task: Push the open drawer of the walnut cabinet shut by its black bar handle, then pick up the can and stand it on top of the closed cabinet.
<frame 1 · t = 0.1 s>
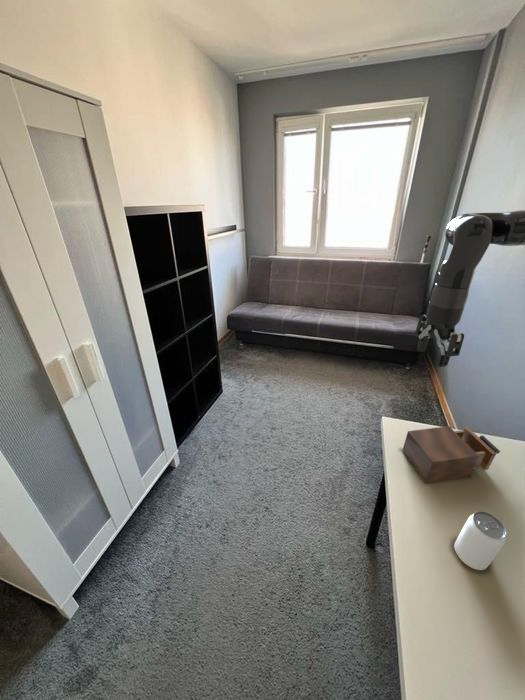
hand: (430, 358, 77), 32 cm above the table, tool pointing down, fingers open, 8 cm apart
drawer: (464, 449, 84), point 4 cm above the table, slide at 5.0 cm
can: (470, 554, 63), on the table
cabinet: (433, 462, 85), on the table
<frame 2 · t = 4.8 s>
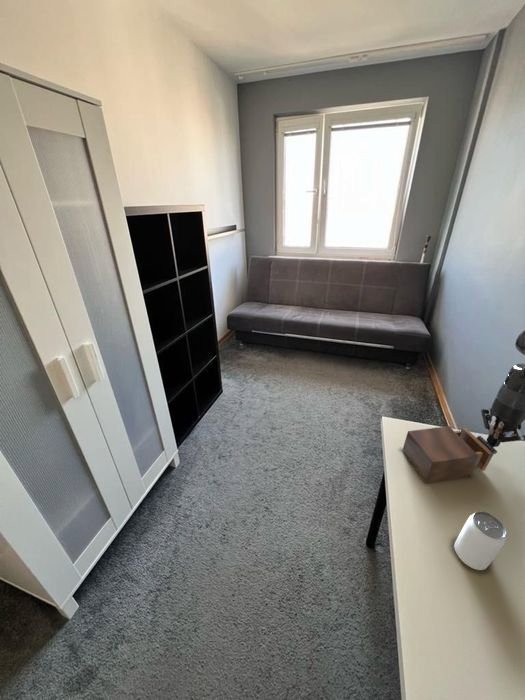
hand: (491, 445, 84), 5 cm above the table, tool pointing down, fingers closed
drawer: (462, 449, 84), point 4 cm above the table, slide at 4.1 cm
everything else where it was.
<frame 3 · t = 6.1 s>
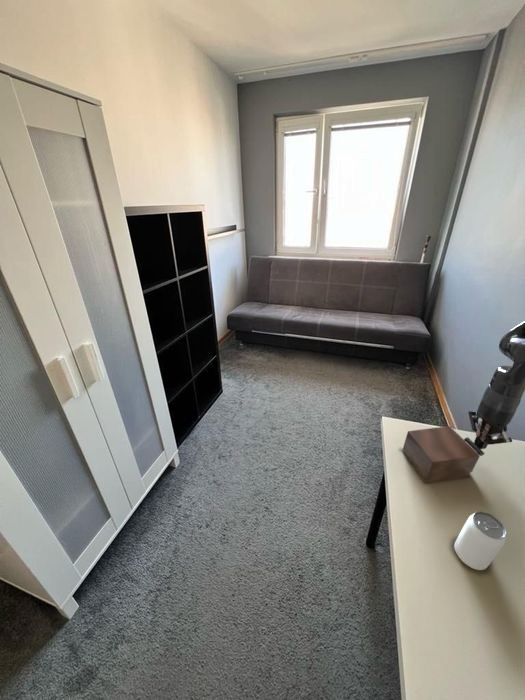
hand: (478, 447, 84), 5 cm above the table, tool pointing down, fingers closed
drawer: (449, 451, 83), point 4 cm above the table, slide at 0.0 cm, touching cabinet, gripper
everything else where it was.
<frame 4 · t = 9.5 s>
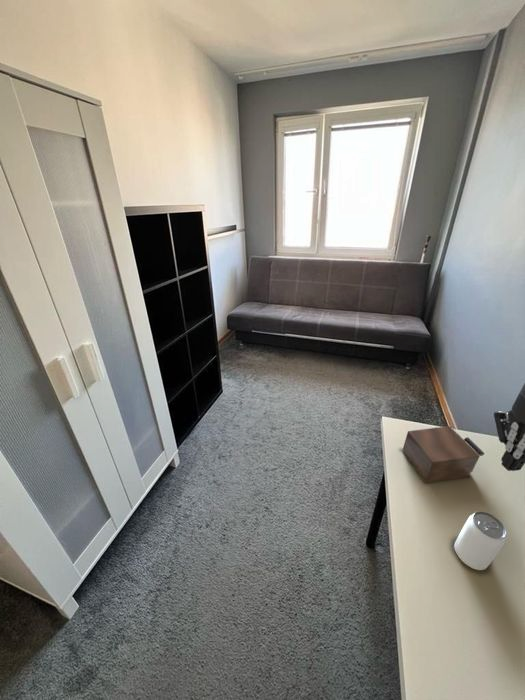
hand: (508, 467, 55), 24 cm above the table, tool pointing down, fingers closed
drawer: (449, 451, 83), point 4 cm above the table, slide at 0.0 cm, touching cabinet
everything else where it was.
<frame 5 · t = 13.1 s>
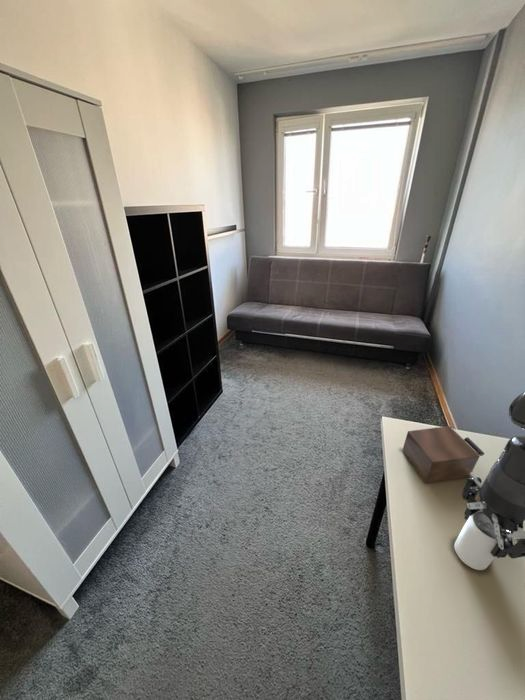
hand: (481, 535, 60), 8 cm above the table, tool pointing down, fingers closed on can, 6 cm apart
can: (470, 554, 63), on the table, touching gripper
everything else where it was.
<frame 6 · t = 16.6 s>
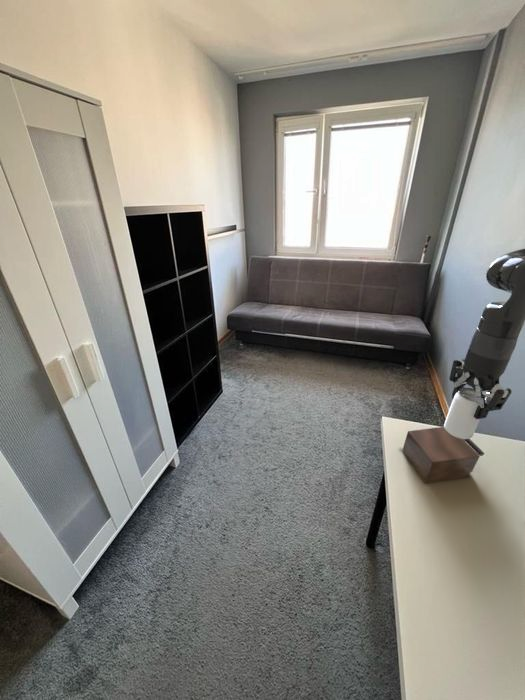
hand: (466, 408, 69), 25 cm above the table, tool pointing down, fingers closed on can, 6 cm apart
can: (457, 431, 73), point 17 cm above the table, touching gripper
everything else where it was.
when the fingers open (16 cm above the table, at t = 20.3 s): can stays where it is, resting on cabinet.
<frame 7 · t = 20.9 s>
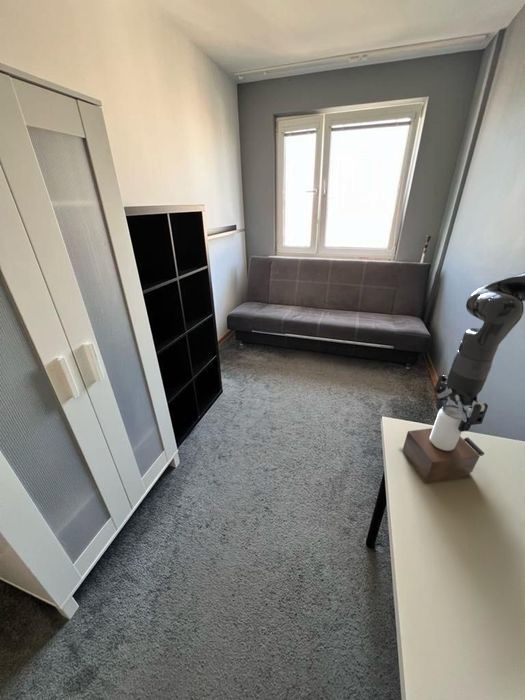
hand: (450, 419, 76), 18 cm above the table, tool pointing down, fingers open, 8 cm apart
can: (441, 443, 81), point 8 cm above the table, touching cabinet
everything else where it was.
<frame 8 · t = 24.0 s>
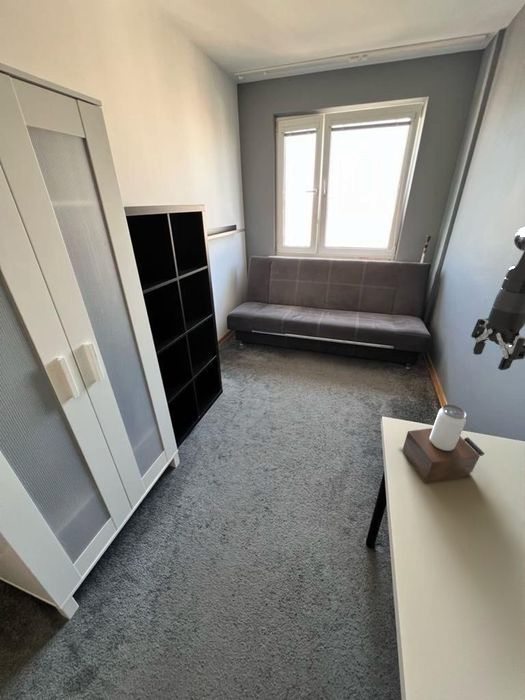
hand: (489, 361, 79), 30 cm above the table, tool pointing down, fingers open, 8 cm apart
nothing on the table moved.
at the end: drawer slide at 0.0 cm; can inside the target area on the cabinet (0.1 cm from its centre), point 8.4 cm above the cabinet's base; can tilted 0° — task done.
